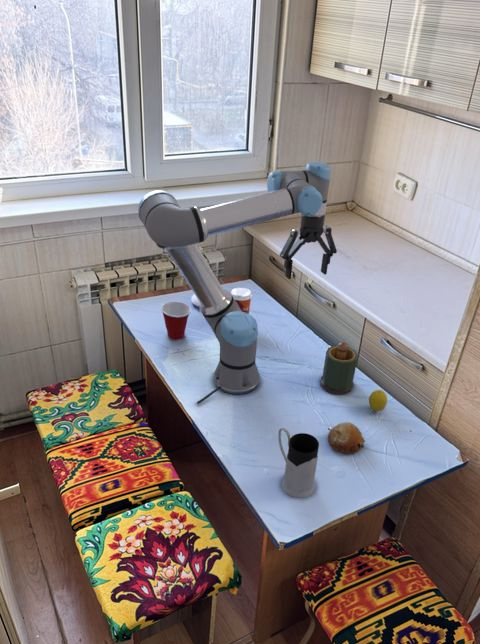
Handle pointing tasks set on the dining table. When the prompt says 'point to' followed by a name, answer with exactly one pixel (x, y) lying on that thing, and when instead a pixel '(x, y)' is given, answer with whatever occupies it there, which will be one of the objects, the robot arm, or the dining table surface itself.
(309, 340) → the dining table surface
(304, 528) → the dining table surface
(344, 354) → the peg stand
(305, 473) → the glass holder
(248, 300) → the coffee cup
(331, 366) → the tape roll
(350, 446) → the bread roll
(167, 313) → the plastic cup
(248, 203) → the robot arm
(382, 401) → the lemon
